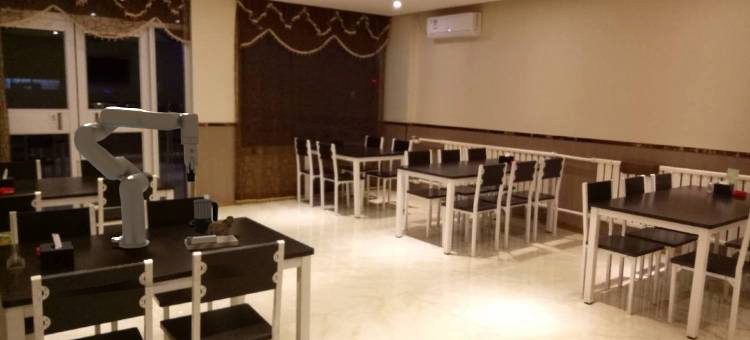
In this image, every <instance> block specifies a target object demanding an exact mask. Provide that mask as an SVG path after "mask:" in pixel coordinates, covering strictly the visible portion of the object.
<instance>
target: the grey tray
mask: <svg viewBox="0 0 750 340" xmlns="http://www.w3.org/2000/svg"><path fill="white" fill-rule="evenodd" d="M184 245H185V247H186V249H187V250H188V251H191V250H192V251H193V250H201V249H202V250H203V249H204V250H205V249H211V248H223V247H224V248H225V247H234V246H239V240H238V238H237V237H235V236H234V234H229V235H227V234H226V235H217V242H209V243H199V244H187V238H185V239H184Z"/></svg>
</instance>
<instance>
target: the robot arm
mask: <svg viewBox="0 0 750 340" xmlns="http://www.w3.org/2000/svg"><path fill="white" fill-rule="evenodd" d="M118 128H130V129H140V130H141V129H147V130H159V131H173V130H178V129H180V145H183V155H184V156H183V158H184V165H185V167H186V181H187V183H191V182H192V183H195V179H196V174H195V167H198V166H199V157H198V156H199V154H198V145H199V144H200V140H199V139H200V138H199V137H200V136H199V130H200V129H199V128H200V127H199V116H198V114H197V113H194V112H186V113H185V112H184V113H183V112H182V113H181V112H180V113H179V112H174V111H172V112H158V111H157V112H156V111H147V110H143V109H142V108H141V109H140V108H128V107H119V106H107V107H105V108H103V109H102V110H101V111H100V113H99V117H98V118H97V119H95V121H93V122H90V123H84V124H81V125H80V126H78V127H77V129H76V130H75V131H74V135H73V141H74V142H73V143H74V147H75V149H76V150H77V152H78V153H79V154H80V155H81V156H82V157H83V159H85V160H86V161H87V162H89V163H90V164H91V165H92V166H93V167H94V168H95V169H96V170H97V171H99V173H101V174H102V175H103V176H105V178H106V179H108V180H109V181H110V180H111V181H115V180H117V181H118V180H119V181H120V183H119V186H118V188H119V189H118V190H119V197H120V205H121V207H120V209H121V230H122V231H121V232H122V234H121V235H120V236H119V237H112V238H111V243H119V244H118V246H119V248H122V249H139V248H144V247H147V246H149V245H150V240H148V239H146V237H147V235H146V213H145V212H146V211H145V200H144V199H145V198H144V192H146V191H147V190H148V188H149V186H150V181H149V178H148V177H147V175H146V174H144V173H143V172H142V171H141V170H140V169H139V168H138V167H136V166H135V165H134V164H133V163H132V162H131V161H130V160H128V159H127V158H125V157H122V156H113V154H111V152H109V151H108V150H107V148H104V147H103V146H102V145H100V144H99V143H98V142H100V141H103V140H105V139H106V138H107V137H108V136H110V135H111V134H112V133H113V132H115V130H117V129H118Z"/></svg>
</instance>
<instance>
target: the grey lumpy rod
mask: <svg viewBox="0 0 750 340" xmlns="http://www.w3.org/2000/svg"><path fill="white" fill-rule="evenodd" d="M216 235H217V234H215V235H213V234H210V236H208V235H207V236H206V235H202V236H187V237H186V239H187V244H199V243H209V242H217V236H218V235H217V236H216Z"/></svg>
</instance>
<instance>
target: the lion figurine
mask: <svg viewBox="0 0 750 340" xmlns="http://www.w3.org/2000/svg"><path fill="white" fill-rule="evenodd" d="M234 223H235V219H234V216H232V215H228V216H226V218H225V219H224V220H223V221H221V222H218V221H217V222H215V221H212V223H211V224H210V225H209V227H208V230H207V231H206V232H207V233H206V235H205V236H211V234H210V233H211V232H212V235H216V236H218V235H217V234H216V230H218V231H222V230H223V234H224V235H226V236H227V235H230V233H229V229H231V228H232V227H233V226H234Z"/></svg>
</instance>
